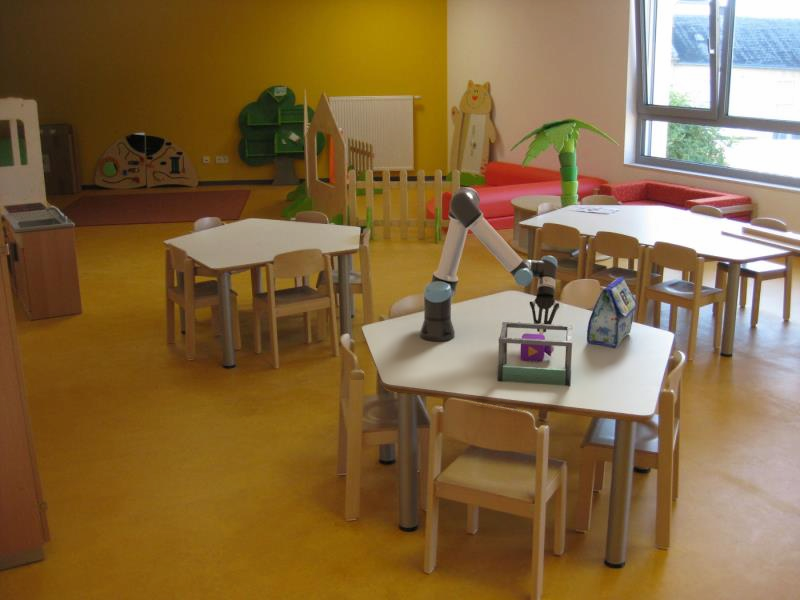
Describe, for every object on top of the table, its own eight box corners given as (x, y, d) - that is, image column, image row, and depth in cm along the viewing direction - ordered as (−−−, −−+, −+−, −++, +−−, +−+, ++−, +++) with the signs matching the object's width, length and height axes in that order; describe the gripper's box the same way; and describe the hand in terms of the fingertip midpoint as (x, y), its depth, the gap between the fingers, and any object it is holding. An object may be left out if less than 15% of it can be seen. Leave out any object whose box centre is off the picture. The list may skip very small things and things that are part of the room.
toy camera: (555, 363, 345) (556, 339, 342) (521, 363, 345) (522, 339, 343) (550, 353, 356) (551, 331, 353) (517, 353, 356) (518, 331, 353)
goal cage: (497, 381, 327) (498, 338, 322) (501, 362, 346) (502, 321, 341) (570, 386, 322) (572, 342, 317) (570, 366, 341) (572, 325, 336)
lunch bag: (622, 350, 359) (627, 290, 351) (584, 344, 367) (587, 285, 359) (636, 334, 377) (640, 277, 370) (599, 329, 385) (602, 273, 378)
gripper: (530, 284, 368) (524, 333, 358) (561, 286, 365) (555, 335, 354) (531, 292, 375) (525, 341, 364) (561, 294, 371) (556, 343, 361)
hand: (540, 338), depth 359 cm, fingers closed
